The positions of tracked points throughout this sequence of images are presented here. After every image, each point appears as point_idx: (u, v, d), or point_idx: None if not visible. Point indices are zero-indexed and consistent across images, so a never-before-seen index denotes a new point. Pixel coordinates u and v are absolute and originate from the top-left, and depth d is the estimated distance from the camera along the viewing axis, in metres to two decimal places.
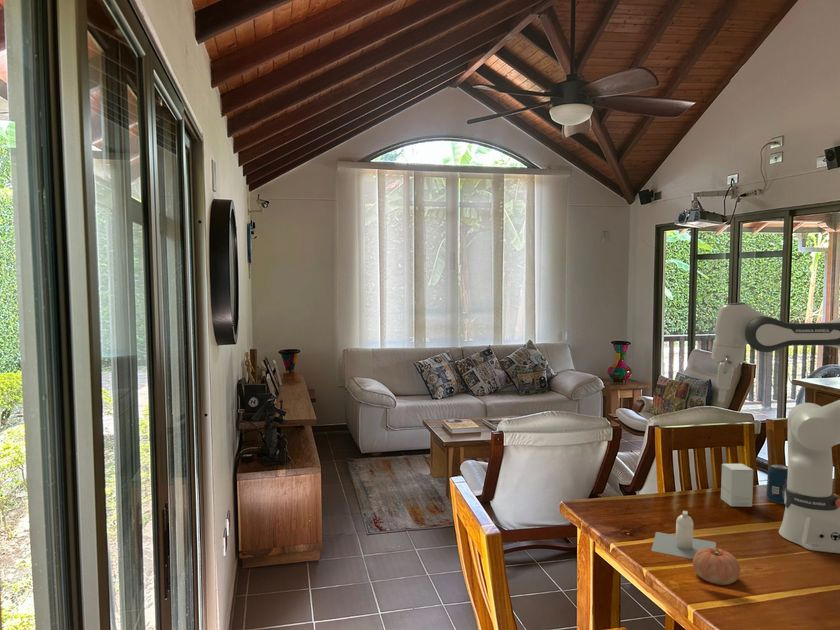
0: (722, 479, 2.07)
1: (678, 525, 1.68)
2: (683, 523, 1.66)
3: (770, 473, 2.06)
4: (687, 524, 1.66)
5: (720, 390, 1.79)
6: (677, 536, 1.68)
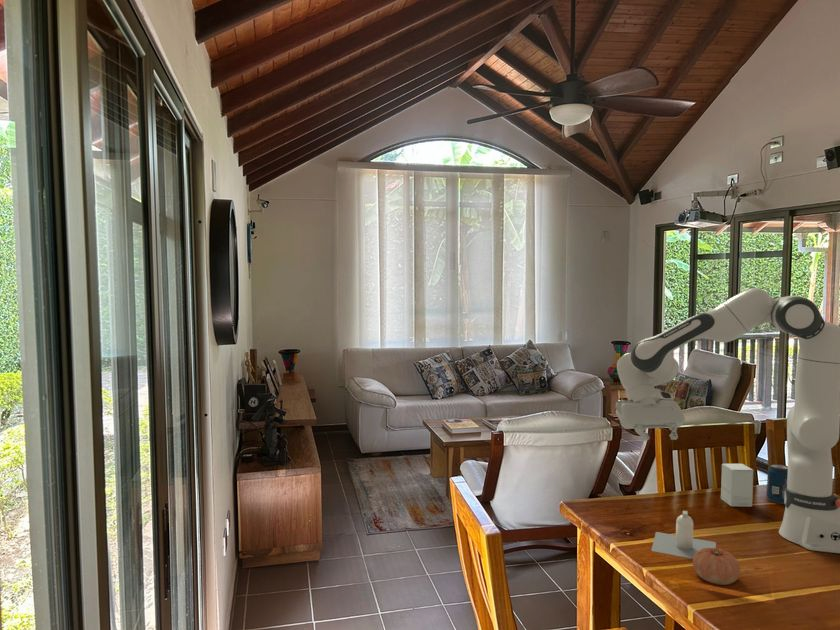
0: (722, 479, 2.07)
1: (678, 525, 1.68)
2: (683, 523, 1.66)
3: (770, 473, 2.06)
4: (687, 524, 1.66)
5: (635, 430, 1.81)
6: (677, 536, 1.68)
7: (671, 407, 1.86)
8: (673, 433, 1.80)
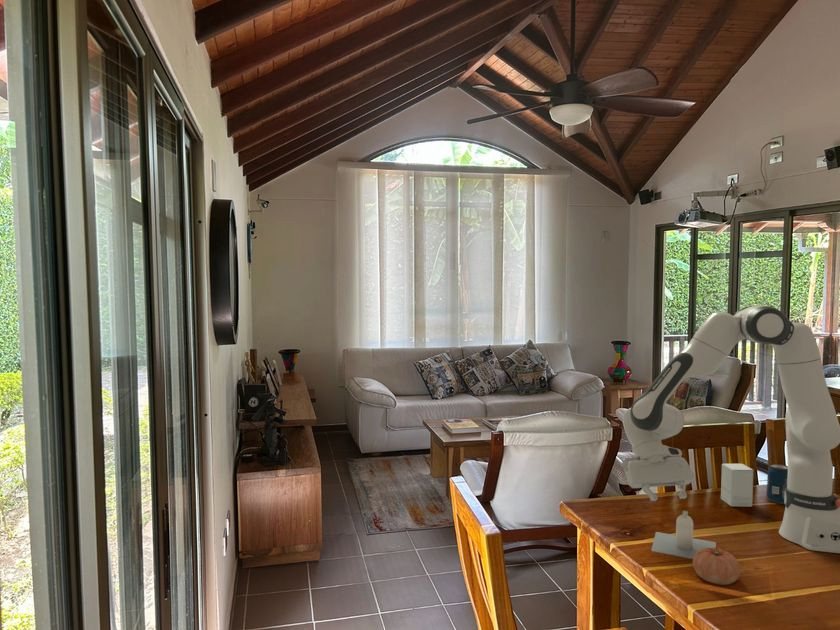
0: (722, 479, 2.07)
1: (678, 525, 1.68)
2: (683, 523, 1.66)
3: (770, 473, 2.06)
4: (687, 524, 1.66)
5: (643, 489, 1.77)
6: (677, 536, 1.68)
7: (679, 464, 1.82)
8: (682, 492, 1.76)
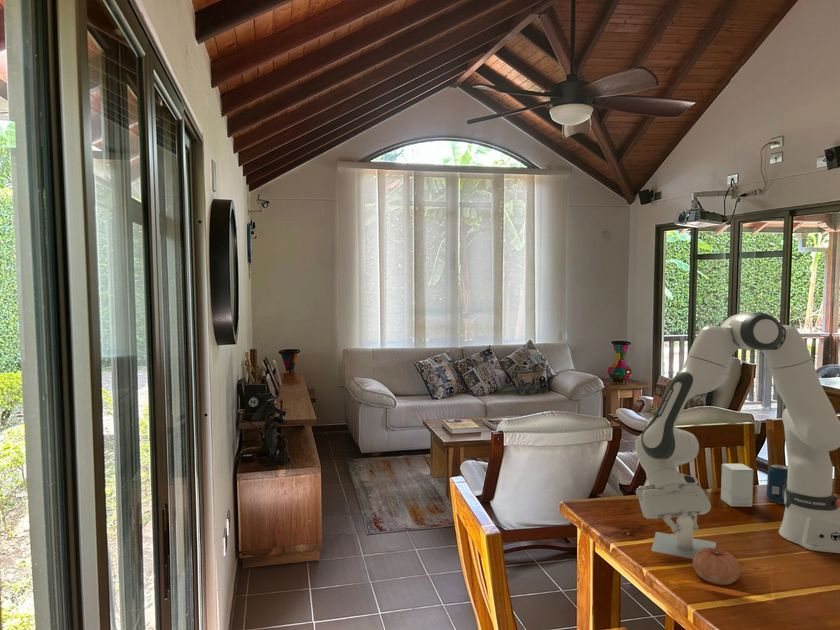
0: (722, 479, 2.07)
1: None
2: (683, 523, 1.66)
3: (770, 473, 2.06)
4: (687, 524, 1.66)
5: (664, 520, 1.70)
6: (677, 536, 1.68)
7: (695, 493, 1.74)
8: (693, 523, 1.69)
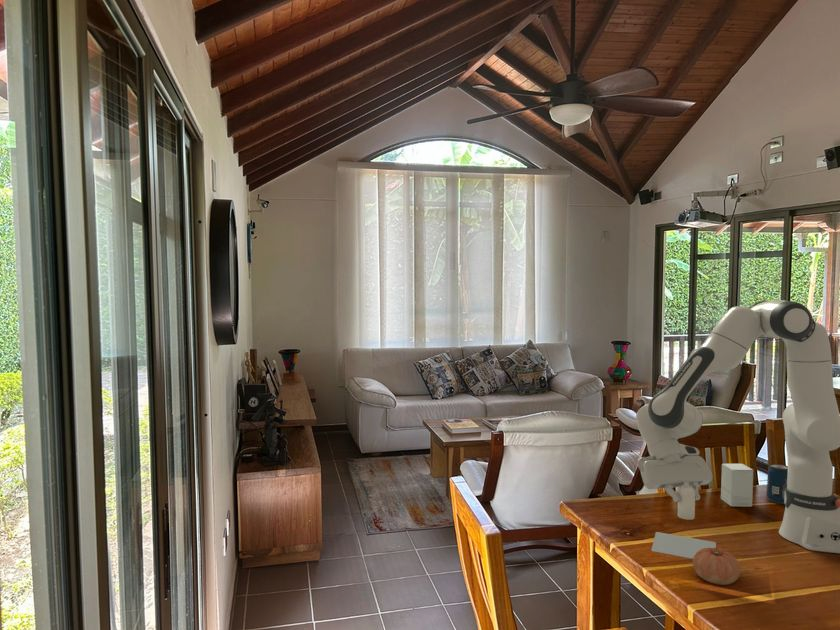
0: (722, 479, 2.07)
1: (680, 495, 1.67)
2: (685, 493, 1.66)
3: (770, 473, 2.06)
4: (689, 493, 1.66)
5: (666, 490, 1.69)
6: (679, 506, 1.68)
7: (697, 463, 1.74)
8: (695, 493, 1.68)
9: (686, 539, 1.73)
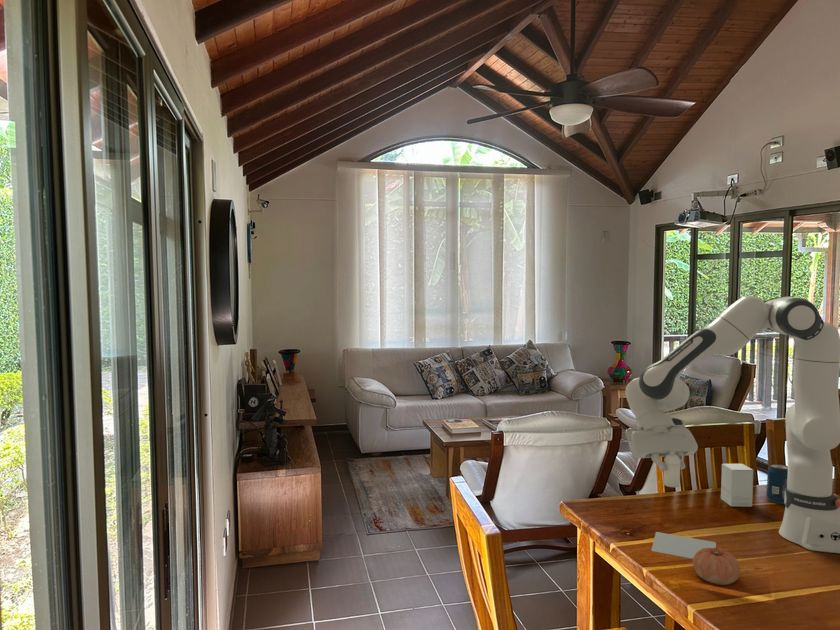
0: (722, 479, 2.07)
1: None
2: (670, 461, 1.72)
3: (770, 473, 2.06)
4: (674, 462, 1.71)
5: (652, 459, 1.75)
6: (664, 474, 1.73)
7: (683, 434, 1.80)
8: (680, 462, 1.74)
9: (686, 539, 1.73)
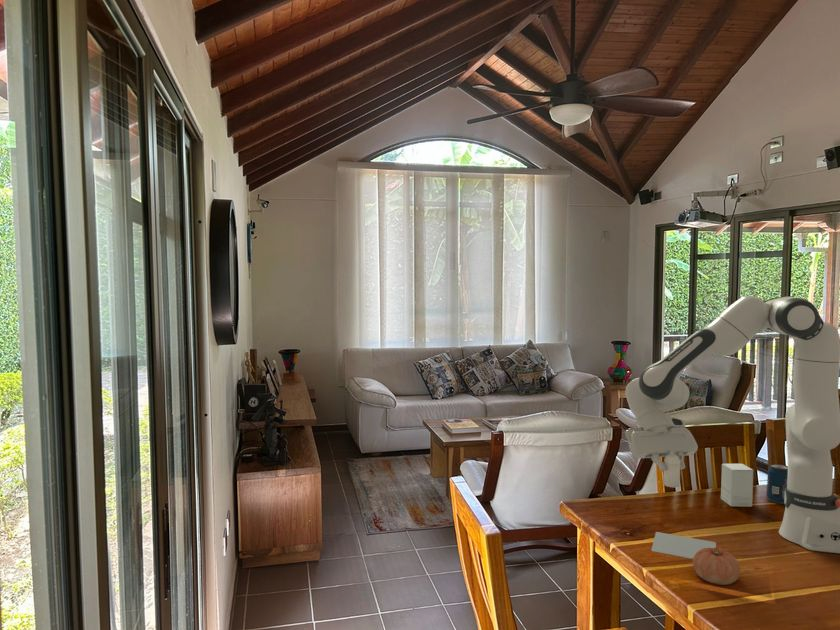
0: (722, 479, 2.07)
1: None
2: (670, 462, 1.72)
3: (770, 473, 2.06)
4: (674, 462, 1.72)
5: (652, 459, 1.75)
6: (664, 474, 1.73)
7: (683, 434, 1.80)
8: (680, 462, 1.74)
9: (686, 539, 1.73)
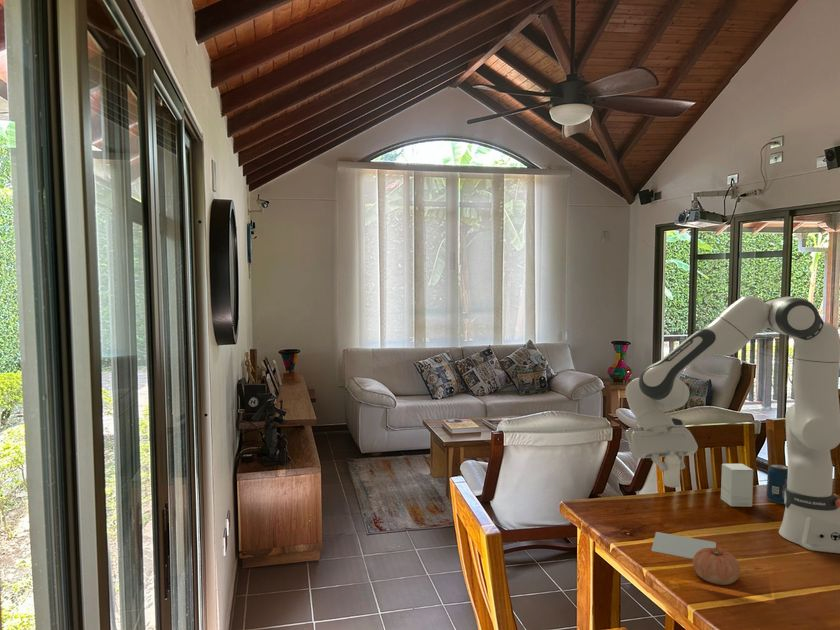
0: (722, 479, 2.07)
1: None
2: (670, 462, 1.72)
3: (770, 473, 2.06)
4: (674, 462, 1.72)
5: (652, 459, 1.75)
6: (664, 474, 1.73)
7: (683, 434, 1.80)
8: (680, 462, 1.74)
9: (686, 539, 1.73)
